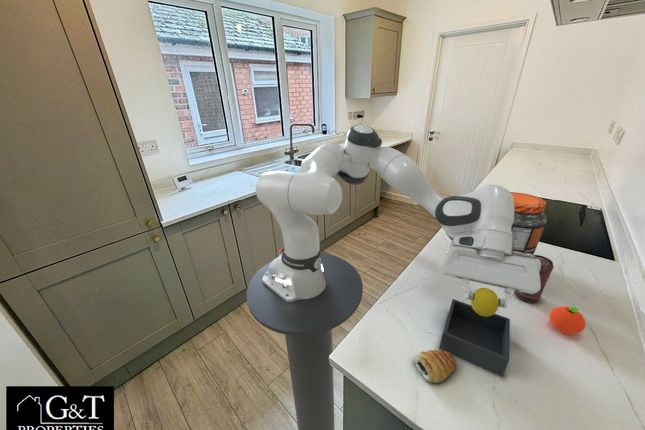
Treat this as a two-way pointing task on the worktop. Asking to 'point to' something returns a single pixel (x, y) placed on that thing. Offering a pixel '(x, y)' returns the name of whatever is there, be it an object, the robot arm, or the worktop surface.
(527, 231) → the supplement tub
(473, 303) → the lemon
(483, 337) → the bin
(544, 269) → the dark red glass cylinder
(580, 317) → the clementine
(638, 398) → the worktop surface
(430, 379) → the pastry
